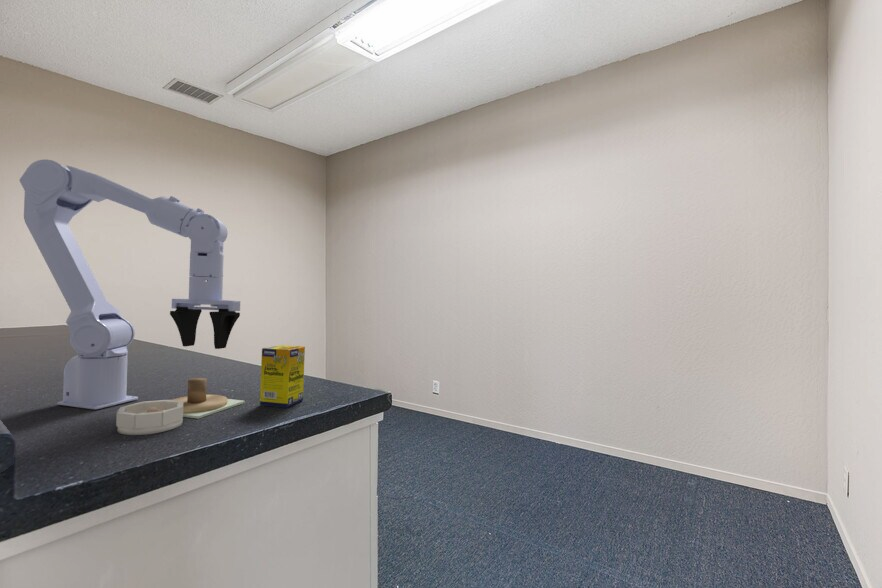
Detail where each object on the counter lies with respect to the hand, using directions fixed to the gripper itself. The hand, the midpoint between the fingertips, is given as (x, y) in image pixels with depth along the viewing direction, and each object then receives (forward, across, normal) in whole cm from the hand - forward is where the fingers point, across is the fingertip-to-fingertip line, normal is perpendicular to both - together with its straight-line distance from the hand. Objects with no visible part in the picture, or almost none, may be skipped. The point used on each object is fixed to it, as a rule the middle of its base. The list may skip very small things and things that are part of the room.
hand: (204, 347), depth 82 cm
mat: (+10, +3, -4) cm, 12 cm away
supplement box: (+11, +15, +4) cm, 19 cm away
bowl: (+10, +5, -15) cm, 19 cm away
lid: (+10, +3, -4) cm, 11 cm away
